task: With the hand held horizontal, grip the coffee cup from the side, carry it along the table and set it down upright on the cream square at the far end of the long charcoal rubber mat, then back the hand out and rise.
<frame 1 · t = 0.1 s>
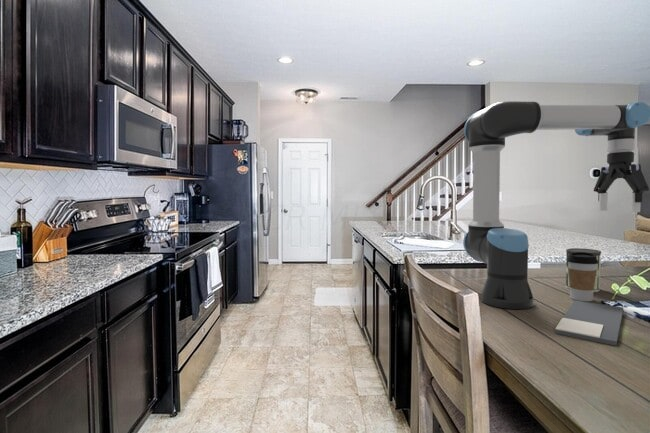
hand: (618, 211, 131), 28 cm above the table, tool pointing down, fingers open, 13 cm apart
mat: (593, 317, 101), on the table
coffee cup: (581, 299, 119), on the table
coffee can: (582, 289, 131), on the table
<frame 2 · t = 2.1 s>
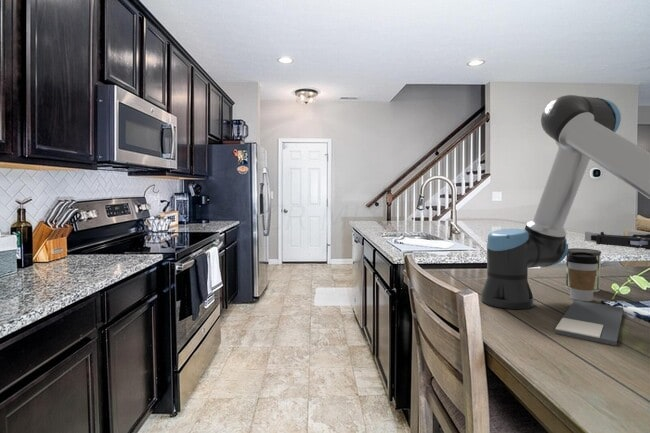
hand: (607, 235, 108), 22 cm above the table, tool horizontal, fingers open, 13 cm apart
nothing on the table moved.
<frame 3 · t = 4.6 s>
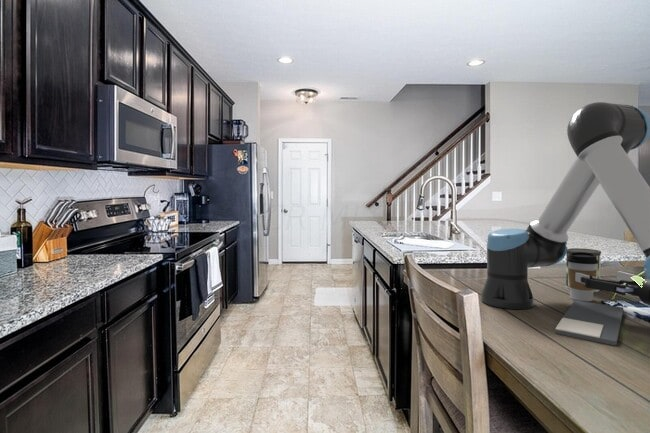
hand: (597, 276, 113), 9 cm above the table, tool horizontal, fingers open, 13 cm apart
nothing on the table moved.
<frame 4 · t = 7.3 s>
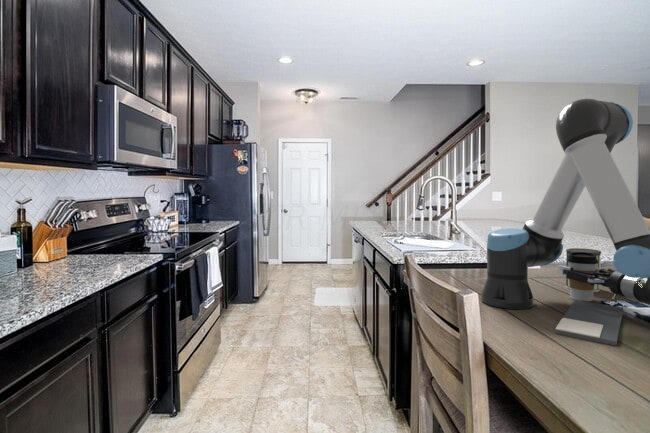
hand: (571, 268, 123), 9 cm above the table, tool horizontal, fingers closed on coffee cup, 8 cm apart
coffee cup: (581, 299, 119), on the table, touching gripper
everything else where it was.
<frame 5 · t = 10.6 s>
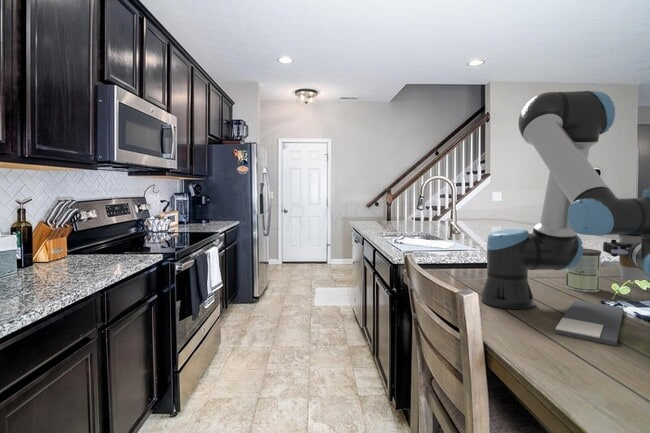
hand: (632, 244, 103), 20 cm above the table, tool horizontal, fingers closed on coffee cup, 8 cm apart
coffee cup: (634, 279, 100), point 11 cm above the table, touching gripper
everything else where it was.
when the fingers open (12 cm above the table, at t = 14.3 s): coffee cup drops 2 cm, point 1 cm above the table.
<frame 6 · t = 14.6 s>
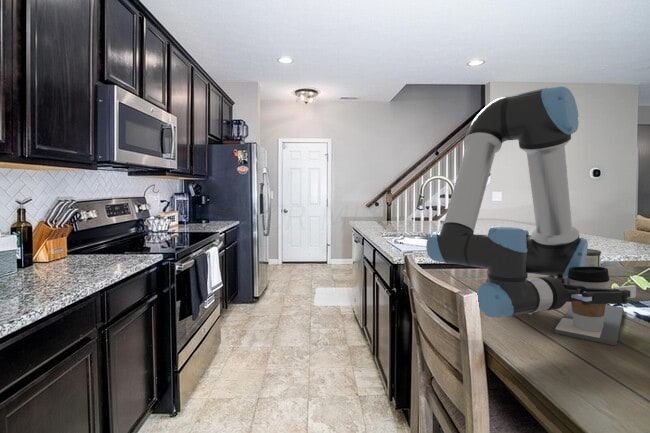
hand: (607, 285, 90), 12 cm above the table, tool horizontal, fingers open, 11 cm apart
coffee cup: (587, 327, 90), point 1 cm above the table, touching gripper
everything else where it was.
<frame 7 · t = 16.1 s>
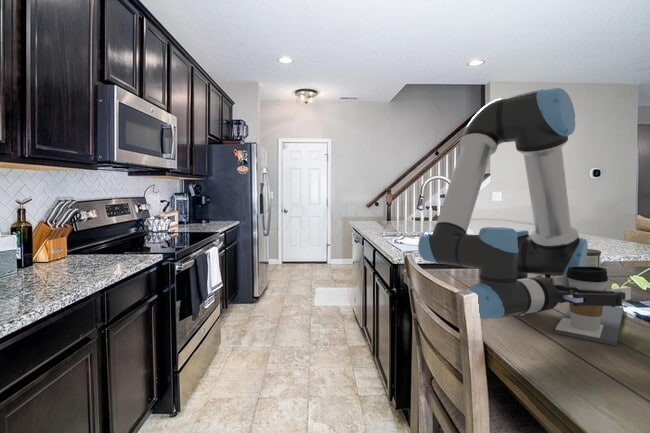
hand: (598, 286, 89), 12 cm above the table, tool horizontal, fingers open, 13 cm apart
coffee cup: (585, 327, 91), point 1 cm above the table, touching gripper, mat
everything else where it was.
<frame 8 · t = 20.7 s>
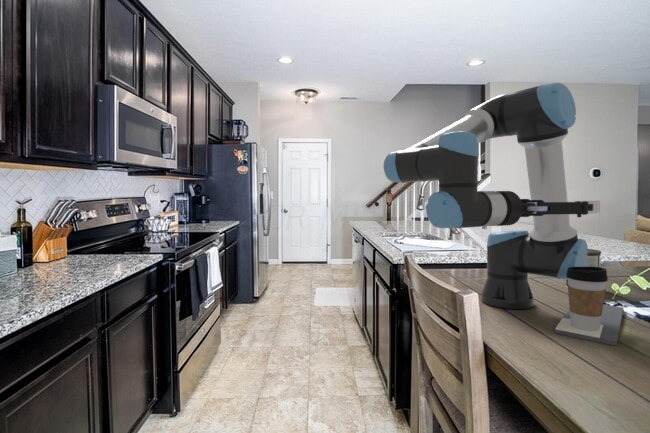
hand: (568, 206, 84), 32 cm above the table, tool horizontal, fingers open, 13 cm apart
coffee cup: (585, 327, 91), point 1 cm above the table, touching mat
everything else where it was.
at the end: coffee cup inside the target area on the mat (1.9 cm from its centre), point 1.1 cm above the mat's base; coffee cup tilted 0°; the gripper is holding nothing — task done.
